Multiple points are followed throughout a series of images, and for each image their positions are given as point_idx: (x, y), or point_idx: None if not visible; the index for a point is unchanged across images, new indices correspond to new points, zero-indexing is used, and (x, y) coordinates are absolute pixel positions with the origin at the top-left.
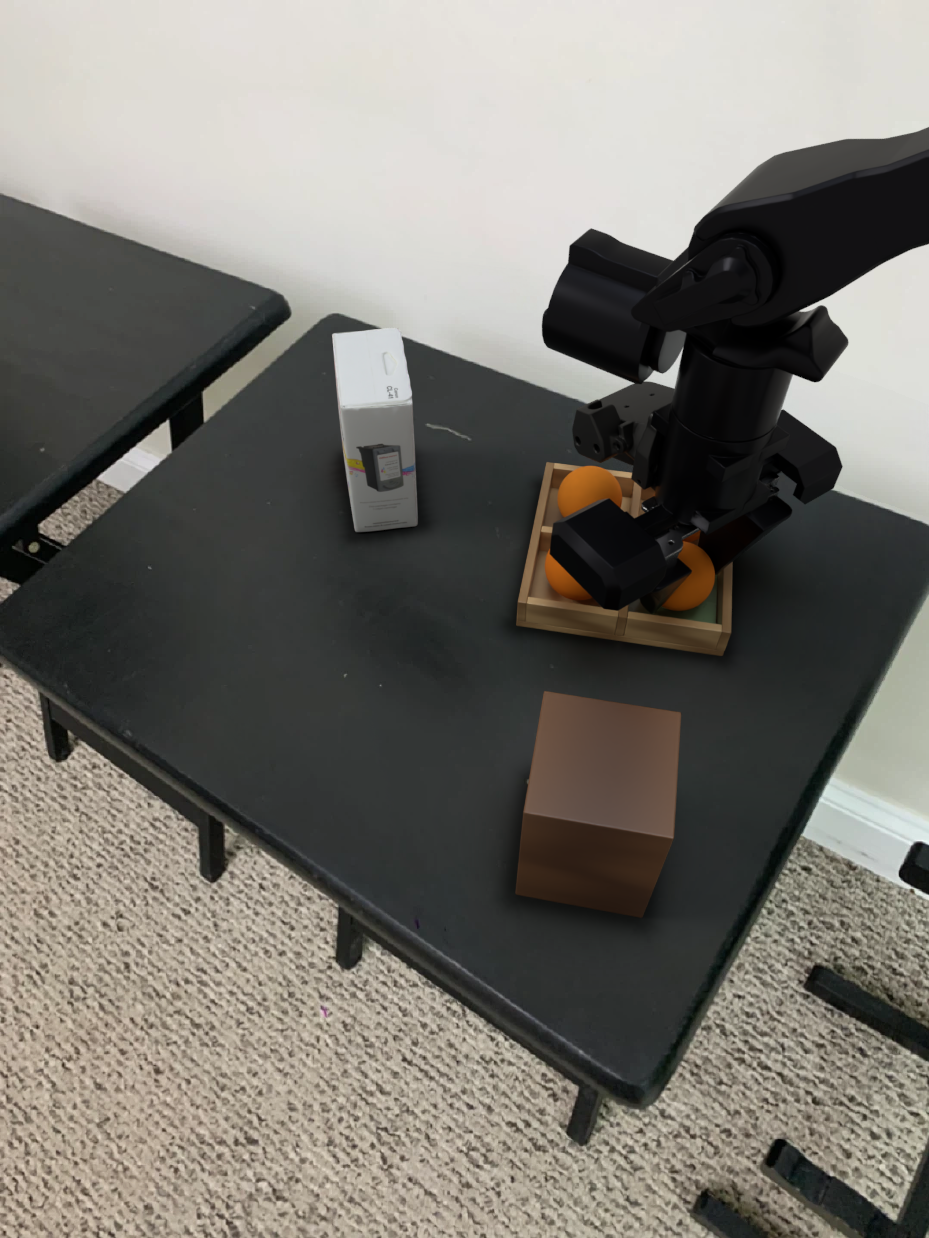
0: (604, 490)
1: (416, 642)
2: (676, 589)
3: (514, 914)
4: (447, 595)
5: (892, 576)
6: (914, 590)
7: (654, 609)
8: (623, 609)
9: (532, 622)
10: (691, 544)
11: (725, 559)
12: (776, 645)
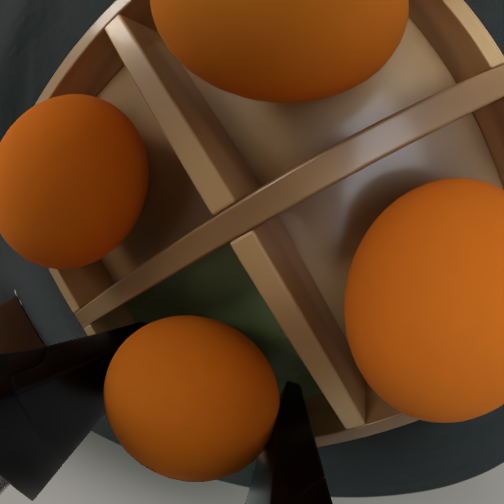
0: (222, 4)
1: (9, 103)
2: (80, 442)
3: None
4: (47, 56)
5: (452, 476)
6: (437, 488)
7: None
8: (84, 316)
9: None
10: (199, 467)
11: (249, 493)
12: None
